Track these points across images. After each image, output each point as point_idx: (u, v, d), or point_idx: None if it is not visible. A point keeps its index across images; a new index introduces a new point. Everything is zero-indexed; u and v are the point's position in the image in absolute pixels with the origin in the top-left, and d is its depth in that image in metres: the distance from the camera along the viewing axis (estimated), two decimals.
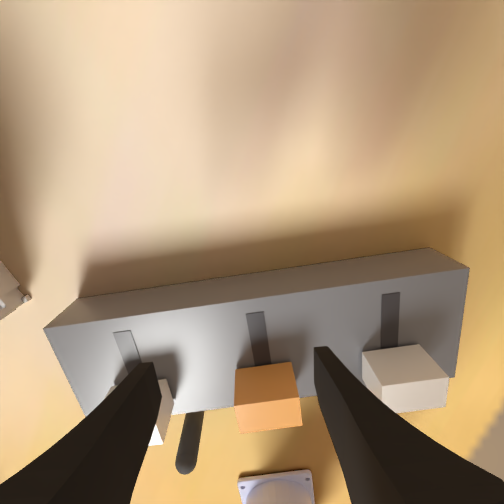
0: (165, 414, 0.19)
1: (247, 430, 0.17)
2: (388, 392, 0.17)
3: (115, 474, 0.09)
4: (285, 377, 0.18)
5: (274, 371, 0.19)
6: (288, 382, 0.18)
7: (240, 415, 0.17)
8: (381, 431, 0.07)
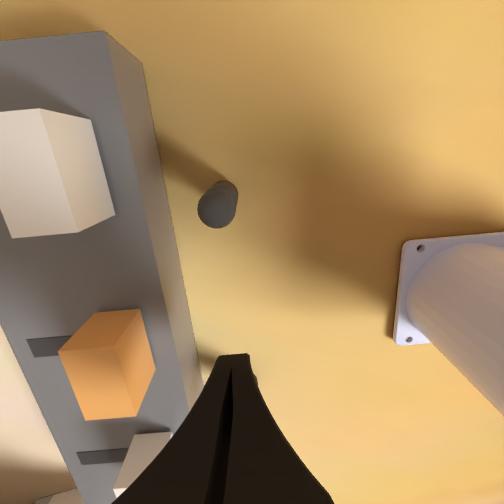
0: (149, 459, 0.16)
1: (129, 408, 0.13)
2: (23, 226, 0.10)
3: (225, 464, 0.09)
4: None
5: None
6: None
7: (101, 415, 0.13)
8: (249, 443, 0.07)
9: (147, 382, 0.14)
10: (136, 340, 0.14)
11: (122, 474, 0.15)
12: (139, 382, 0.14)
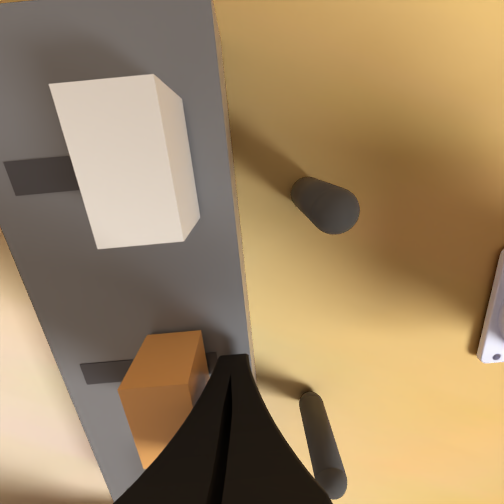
0: None
1: None
2: (114, 233, 0.07)
3: (226, 464, 0.09)
4: None
5: None
6: None
7: None
8: (248, 443, 0.07)
9: None
10: (200, 369, 0.11)
11: None
12: None
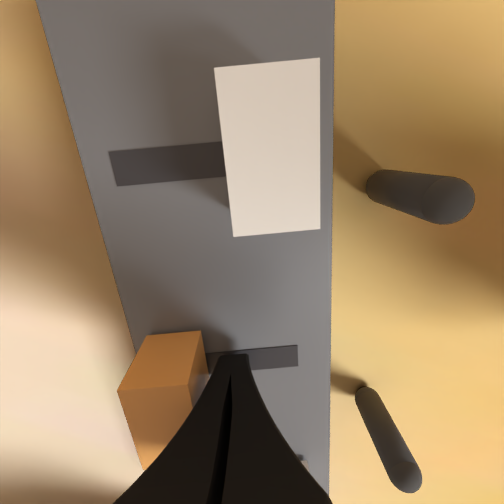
0: None
1: None
2: (252, 221, 0.07)
3: (227, 464, 0.09)
4: None
5: None
6: None
7: None
8: (248, 443, 0.07)
9: None
10: (200, 370, 0.11)
11: None
12: None
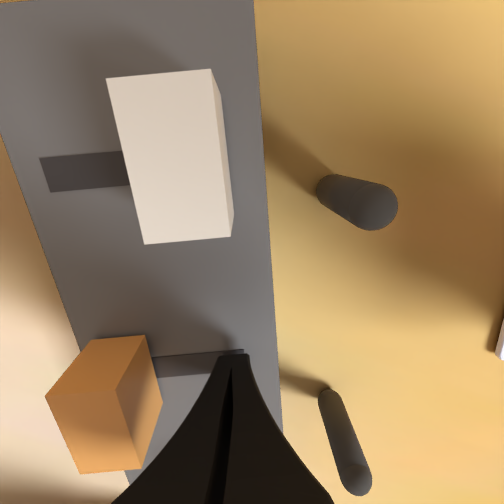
0: None
1: (133, 460, 0.10)
2: (162, 229, 0.07)
3: (225, 464, 0.09)
4: None
5: None
6: None
7: (99, 467, 0.11)
8: (249, 443, 0.07)
9: (153, 422, 0.12)
10: (141, 374, 0.11)
11: None
12: (145, 425, 0.11)
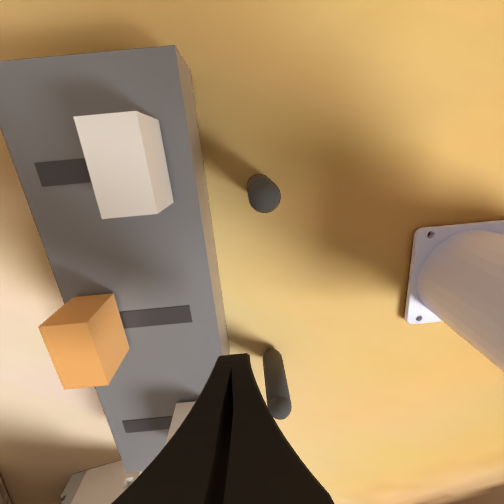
0: None
1: (102, 377, 0.15)
2: (112, 208, 0.12)
3: (225, 464, 0.09)
4: None
5: None
6: None
7: (77, 384, 0.15)
8: (249, 443, 0.07)
9: (120, 358, 0.16)
10: (109, 320, 0.16)
11: (171, 434, 0.17)
12: (112, 356, 0.16)
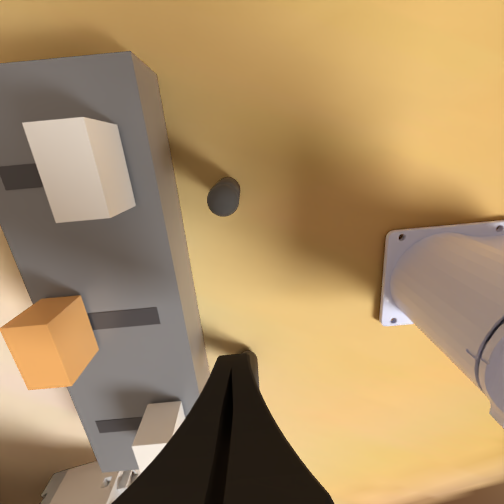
0: (162, 422, 0.18)
1: (65, 379, 0.15)
2: (66, 213, 0.12)
3: (225, 464, 0.09)
4: None
5: None
6: None
7: (41, 384, 0.15)
8: (249, 443, 0.07)
9: (87, 359, 0.17)
10: (75, 322, 0.16)
11: (139, 435, 0.17)
12: (77, 358, 0.16)
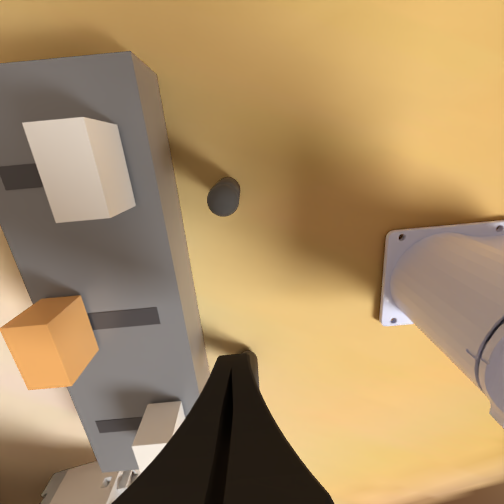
0: (162, 422, 0.18)
1: (65, 379, 0.15)
2: (66, 213, 0.12)
3: (225, 464, 0.09)
4: None
5: None
6: None
7: (41, 384, 0.15)
8: (249, 443, 0.07)
9: (87, 359, 0.17)
10: (75, 322, 0.16)
11: (139, 435, 0.17)
12: (77, 358, 0.16)
